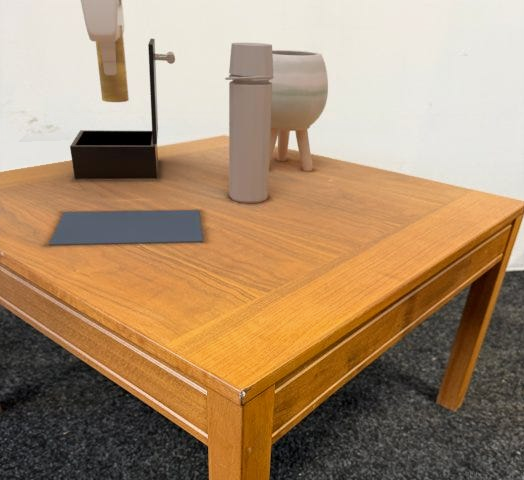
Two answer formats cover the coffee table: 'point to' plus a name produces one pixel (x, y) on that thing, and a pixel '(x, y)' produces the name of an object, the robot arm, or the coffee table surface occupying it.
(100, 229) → the mat
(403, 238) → the coffee table surface
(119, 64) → the yellow cylinder
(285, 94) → the planter
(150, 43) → the black box lid
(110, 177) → the box
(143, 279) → the coffee table surface
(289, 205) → the coffee table surface
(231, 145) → the water bottle
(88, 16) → the robot arm
